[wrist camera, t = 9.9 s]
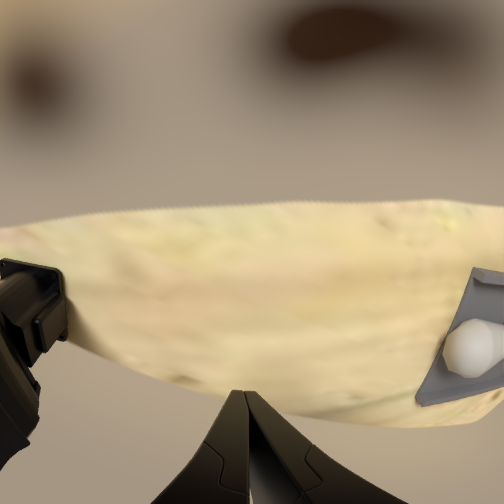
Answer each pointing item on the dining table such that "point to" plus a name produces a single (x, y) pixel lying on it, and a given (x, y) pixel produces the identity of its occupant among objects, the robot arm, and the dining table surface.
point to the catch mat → (472, 306)
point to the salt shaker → (474, 347)
